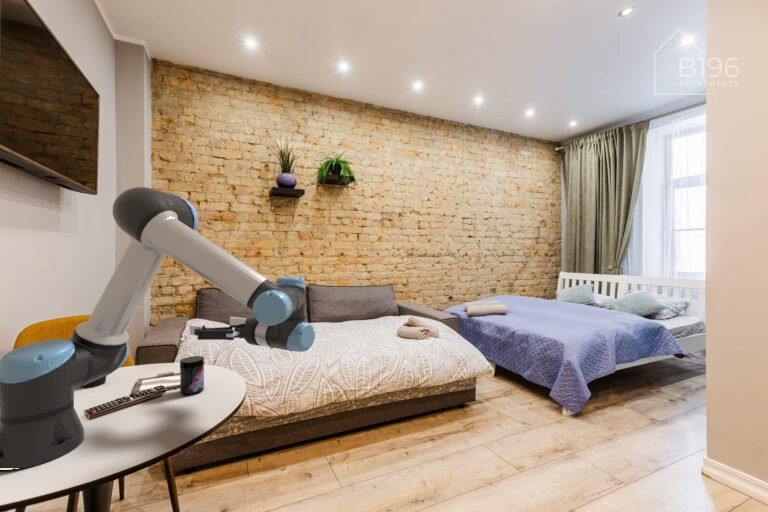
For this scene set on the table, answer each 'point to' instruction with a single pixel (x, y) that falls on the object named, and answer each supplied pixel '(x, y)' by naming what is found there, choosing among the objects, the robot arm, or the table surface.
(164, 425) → the table surface
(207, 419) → the table surface
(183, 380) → the supplement container
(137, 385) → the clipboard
